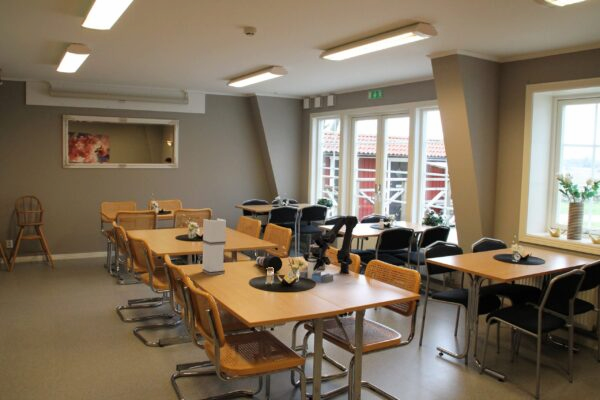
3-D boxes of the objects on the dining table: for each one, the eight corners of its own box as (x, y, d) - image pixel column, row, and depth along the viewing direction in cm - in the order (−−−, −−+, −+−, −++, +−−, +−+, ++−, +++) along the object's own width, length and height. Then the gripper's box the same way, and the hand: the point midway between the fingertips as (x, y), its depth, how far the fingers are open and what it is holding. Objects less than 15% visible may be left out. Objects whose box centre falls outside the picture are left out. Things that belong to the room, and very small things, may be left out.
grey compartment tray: (298, 279, 324) (299, 271, 324) (307, 276, 332) (307, 269, 331) (324, 284, 312) (325, 276, 312) (333, 282, 320) (333, 274, 319)
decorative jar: (325, 269, 357) (326, 244, 356) (308, 268, 358) (309, 243, 356) (324, 266, 369) (325, 241, 368) (308, 265, 369) (309, 240, 368)
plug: (307, 278, 324) (307, 259, 323) (311, 276, 327) (311, 258, 327) (312, 279, 322) (313, 260, 321) (316, 278, 325) (317, 259, 324)
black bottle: (260, 269, 372) (265, 256, 374) (278, 274, 341) (284, 260, 343) (248, 263, 368) (254, 251, 370) (265, 268, 337) (272, 254, 340)
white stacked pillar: (224, 273, 334) (225, 220, 331) (209, 275, 328) (210, 220, 325) (217, 270, 343) (218, 218, 341) (202, 271, 337) (203, 218, 335)
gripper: (304, 240, 332) (293, 259, 324) (328, 244, 320) (318, 264, 312) (311, 251, 338) (301, 270, 330) (335, 255, 327) (324, 274, 319)
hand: (310, 269), depth 323 cm, fingers closed on plug, 4 cm apart
